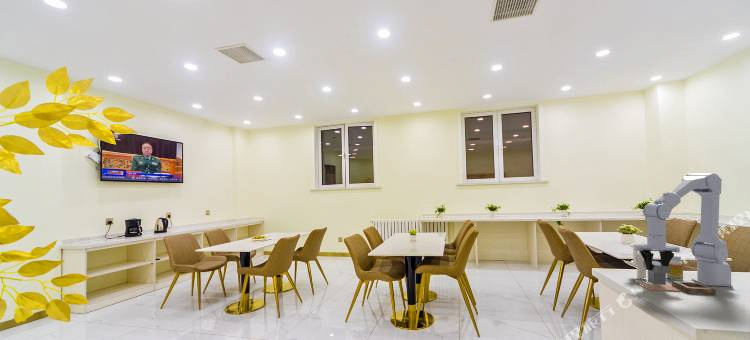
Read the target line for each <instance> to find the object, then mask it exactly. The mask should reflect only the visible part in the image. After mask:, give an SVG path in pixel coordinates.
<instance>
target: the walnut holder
mask: <svg viewBox="0 0 750 340" xmlns="http://www.w3.org/2000/svg"><path fill="white" fill-rule="evenodd" d="M671 286H672V287H674V288H676V289H679V290H680V292H684V293H686V294H693V295H708V296H717V289H716V288H713V287H711V286H710V285H704V284H702V283H699V282H697V281H684V280H671Z"/></svg>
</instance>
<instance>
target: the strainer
mask: <svg viewBox="0 0 750 340" xmlns="http://www.w3.org/2000/svg"><path fill="white" fill-rule="evenodd" d="M634 245H647V242H642V243H637V242H636V243H634V242H633V243H631V244H630V247H631V248H632V257H633V258H632V260H630V264H631V265H632V266H635V267H636V278H637V279H638V278H641V279H640V280H645V279H644V278H646V279H647V268H645V267H643V261H644V259H643V257H642V255H641V253H640V251H636V250H634ZM650 252H651V253H652V251H650Z"/></svg>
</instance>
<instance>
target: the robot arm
mask: <svg viewBox="0 0 750 340" xmlns="http://www.w3.org/2000/svg"><path fill="white" fill-rule="evenodd" d="M722 181H723V180H722V178H721V177H720V176H719V175H718V174H717V173H714V172H713V173H712V172H711V173H686V174H685V176H683V177H682V179H681V182H680V183H679V184H678V185H677V186H676V187H675V188H674V189H673V190H672V191H667V192H666V191H665V192H664V193H662V195H661V196H659V197H658V198H657V199H655V200H654V201H653V202H652V203H650V202H649V203H647V204H646V205H644V207H643V210H642V214H643V215H644V218H645V222H646V243H647V245H634V248H633V249H634V250H636V251H640V253H641V255H642V257H643V259H644V261H645V264H646V267H647V268H646V270H647V271H648V270H652V261H653V259H654V253H652V252H659V257H660V263H662V264H665V265H669V263H670V261H671V259H672V258H673V257H674V255H675V253H680V247H679V246H674V245H667V219H668V218H669V217H670V215H671V213H672V210H674V208H675V207H677V206H678V205H680V203H681V199H682V198H684V197H685V196H687V194H689V193H690V192H693V193H695V194H698V195H699V196H700V197H701V202H700V223H699V224H700V225H699V226H700V227H699V228H700V229H699V235H698V236H696V237H695V238H693V240H692V241H693V242H692V245H691V246H690V252H691V254H692V256H693V257H694V259H695V260H696V263H697V265H696V269H697V270H696V274H697V275H696V277H697V278H694V277H693V278H691V280H693V282H699V283H701V284H704V285H706V286H718V287H733V286H734V285H733V284H732V267H731V266H730V264H729V263H728V262H726V261H727V260H728V257H729V250H728V246H727V244H728V243H726V242H725V241H724V240H722V239H721V238H720V237H719V227H720V226H719V220H720V198H721V197H720V196H721V194H722ZM650 251H651V252H650Z"/></svg>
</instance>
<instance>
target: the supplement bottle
mask: <svg viewBox="0 0 750 340" xmlns="http://www.w3.org/2000/svg"><path fill="white" fill-rule="evenodd" d="M668 266H670V267H671V273H666V276H667V277H668V278H671V279H670V280H672V279H673V280H672V281H684V262H682V261H681V255H678V254H674V257H673V258H672V259H671V261H670V263H669V265H668ZM667 277H666V278H667ZM668 278H667V279H668Z"/></svg>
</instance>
